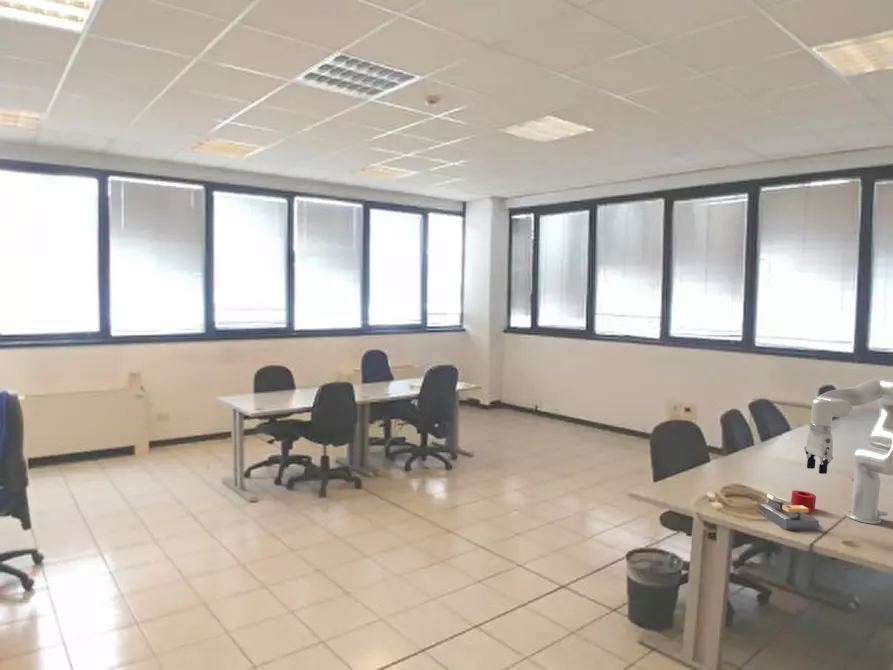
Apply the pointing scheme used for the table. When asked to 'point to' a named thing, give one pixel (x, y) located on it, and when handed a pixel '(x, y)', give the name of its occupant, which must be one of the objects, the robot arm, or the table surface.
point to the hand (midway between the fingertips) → (816, 470)
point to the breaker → (778, 499)
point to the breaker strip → (787, 517)
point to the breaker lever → (795, 508)
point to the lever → (804, 500)
